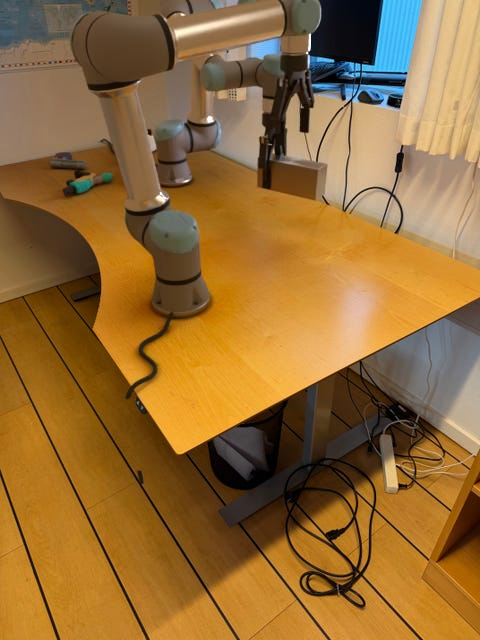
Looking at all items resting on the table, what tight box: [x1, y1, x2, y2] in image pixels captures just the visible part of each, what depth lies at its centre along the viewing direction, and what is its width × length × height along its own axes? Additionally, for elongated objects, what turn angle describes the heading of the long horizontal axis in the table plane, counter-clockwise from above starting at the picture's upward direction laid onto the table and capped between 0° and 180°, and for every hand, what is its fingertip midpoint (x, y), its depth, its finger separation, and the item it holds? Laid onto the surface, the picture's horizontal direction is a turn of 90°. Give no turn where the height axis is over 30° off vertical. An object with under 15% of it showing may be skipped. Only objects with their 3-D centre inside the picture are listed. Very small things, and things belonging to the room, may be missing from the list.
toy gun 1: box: [48, 151, 87, 170], centre depth 217 cm, size 4×19×15 cm
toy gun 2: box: [62, 169, 114, 197], centre depth 193 cm, size 4×26×15 cm
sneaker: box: [146, 128, 157, 153], centre depth 223 cm, size 10×29×12 cm, turn 163°
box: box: [256, 152, 329, 202], centre depth 154 cm, size 22×7×10 cm, turn 56°
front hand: (292, 138), depth 134 cm, fingers open, 13 cm apart
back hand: (272, 184), depth 159 cm, fingers closed on box, 7 cm apart
